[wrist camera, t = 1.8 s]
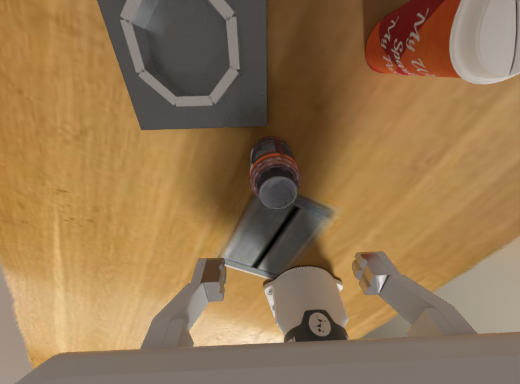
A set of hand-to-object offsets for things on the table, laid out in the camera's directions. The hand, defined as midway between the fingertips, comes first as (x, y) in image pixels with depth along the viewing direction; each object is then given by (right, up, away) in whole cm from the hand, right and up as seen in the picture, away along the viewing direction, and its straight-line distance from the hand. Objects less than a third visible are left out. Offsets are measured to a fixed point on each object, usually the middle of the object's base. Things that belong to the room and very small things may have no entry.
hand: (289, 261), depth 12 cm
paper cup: (+13, +22, +11) cm, 28 cm away
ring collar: (-10, +21, +10) cm, 25 cm away
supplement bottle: (0, +10, +17) cm, 20 cm away
